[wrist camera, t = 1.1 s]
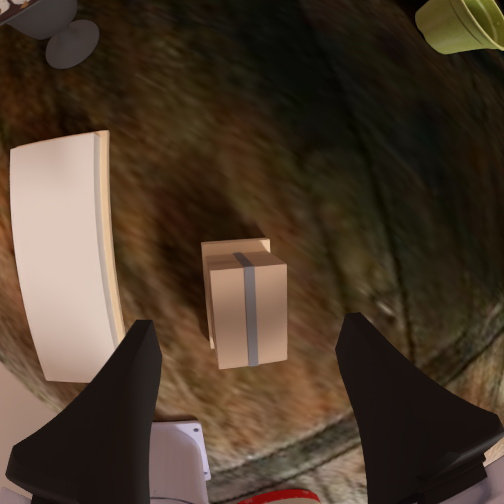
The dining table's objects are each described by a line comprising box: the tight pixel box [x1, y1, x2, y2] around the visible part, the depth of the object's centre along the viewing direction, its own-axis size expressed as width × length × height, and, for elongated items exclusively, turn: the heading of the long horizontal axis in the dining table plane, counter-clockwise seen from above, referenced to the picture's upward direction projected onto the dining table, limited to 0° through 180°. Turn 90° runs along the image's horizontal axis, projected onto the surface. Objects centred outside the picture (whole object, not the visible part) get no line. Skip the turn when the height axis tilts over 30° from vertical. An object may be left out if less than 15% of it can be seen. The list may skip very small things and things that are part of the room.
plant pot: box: [415, 0, 504, 54], centre depth 19 cm, size 9×9×9 cm
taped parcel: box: [201, 238, 287, 369], centre depth 21 cm, size 8×5×6 cm, turn 2°
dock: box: [10, 130, 126, 383], centre depth 19 cm, size 8×19×2 cm, turn 2°
